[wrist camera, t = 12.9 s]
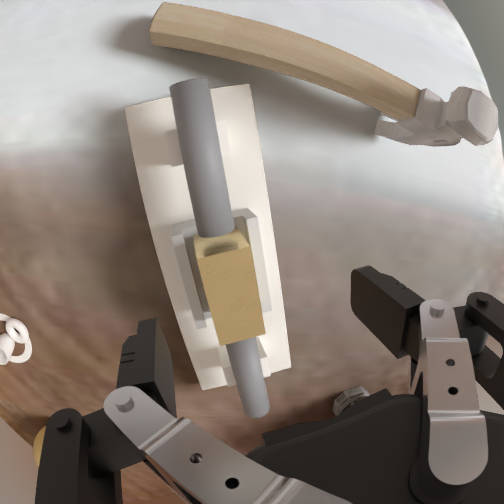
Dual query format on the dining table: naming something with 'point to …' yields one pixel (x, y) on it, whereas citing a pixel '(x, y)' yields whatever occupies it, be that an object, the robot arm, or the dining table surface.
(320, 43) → the hammer
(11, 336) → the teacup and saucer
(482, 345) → the robot arm
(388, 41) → the dining table surface
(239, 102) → the shaft rig
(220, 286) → the gold rectangular block
